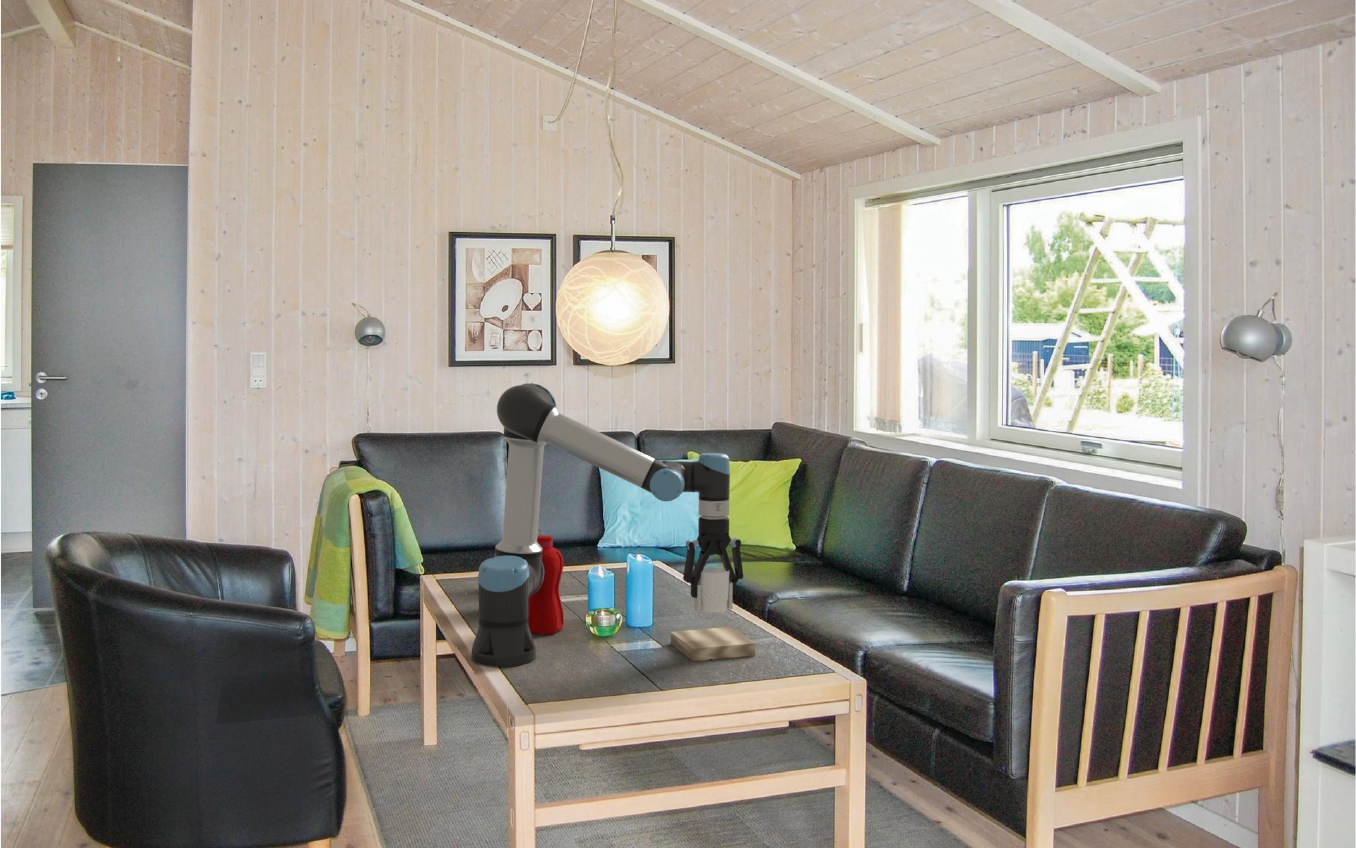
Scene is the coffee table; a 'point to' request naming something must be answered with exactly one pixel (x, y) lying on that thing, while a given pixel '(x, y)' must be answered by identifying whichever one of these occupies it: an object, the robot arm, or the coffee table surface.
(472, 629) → the coffee table surface
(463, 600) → the coffee table surface
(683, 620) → the coffee table surface
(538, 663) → the coffee table surface
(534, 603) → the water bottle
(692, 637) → the wooden base
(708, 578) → the white cup
